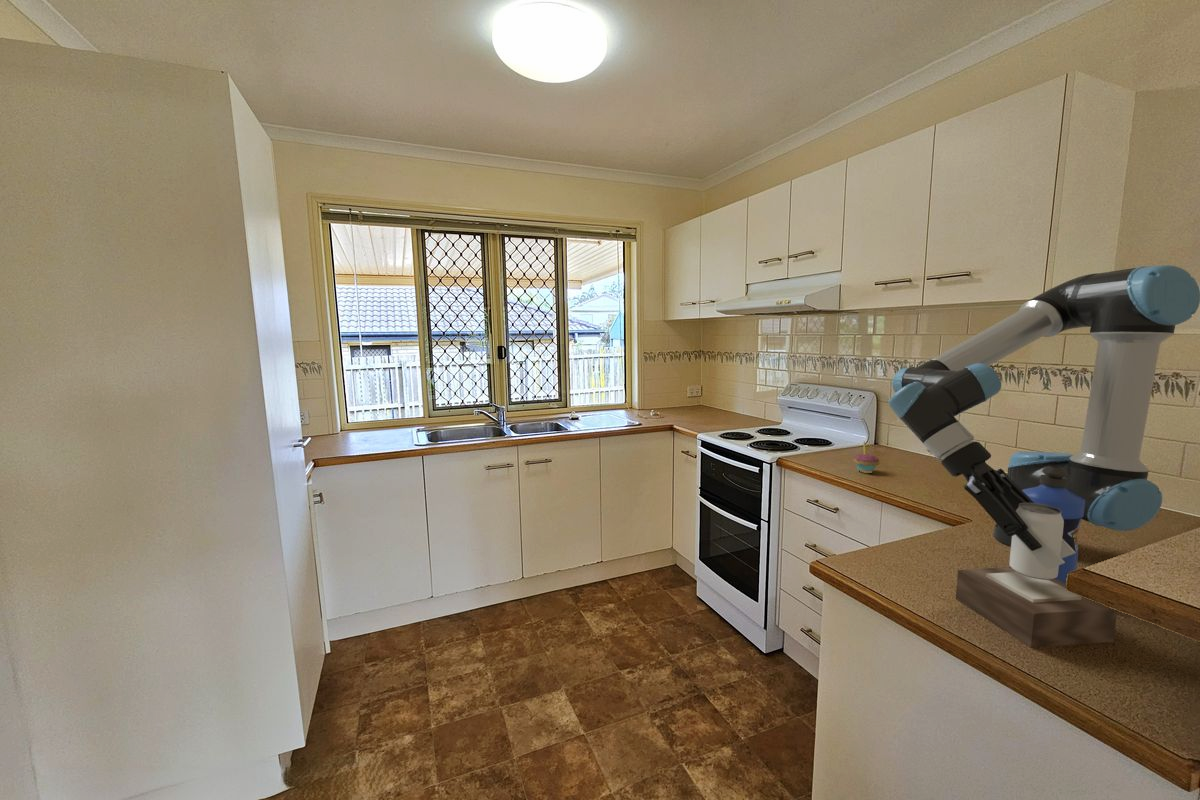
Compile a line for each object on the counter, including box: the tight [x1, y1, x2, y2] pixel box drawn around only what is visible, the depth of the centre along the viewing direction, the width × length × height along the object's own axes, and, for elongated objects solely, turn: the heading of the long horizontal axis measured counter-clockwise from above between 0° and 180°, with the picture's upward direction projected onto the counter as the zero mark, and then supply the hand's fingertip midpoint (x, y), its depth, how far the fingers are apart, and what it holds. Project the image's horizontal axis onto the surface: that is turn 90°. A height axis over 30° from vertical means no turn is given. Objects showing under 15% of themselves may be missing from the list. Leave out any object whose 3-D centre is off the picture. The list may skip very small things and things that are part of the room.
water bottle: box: [1022, 466, 1085, 583], centre depth 96 cm, size 9×9×25 cm
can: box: [1009, 503, 1064, 580], centre depth 84 cm, size 6×6×12 cm
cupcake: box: [853, 441, 880, 472], centre depth 180 cm, size 9×8×12 cm
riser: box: [955, 566, 1118, 649], centre depth 85 cm, size 15×15×7 cm
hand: (1061, 560), depth 81 cm, fingers closed on can, 6 cm apart
